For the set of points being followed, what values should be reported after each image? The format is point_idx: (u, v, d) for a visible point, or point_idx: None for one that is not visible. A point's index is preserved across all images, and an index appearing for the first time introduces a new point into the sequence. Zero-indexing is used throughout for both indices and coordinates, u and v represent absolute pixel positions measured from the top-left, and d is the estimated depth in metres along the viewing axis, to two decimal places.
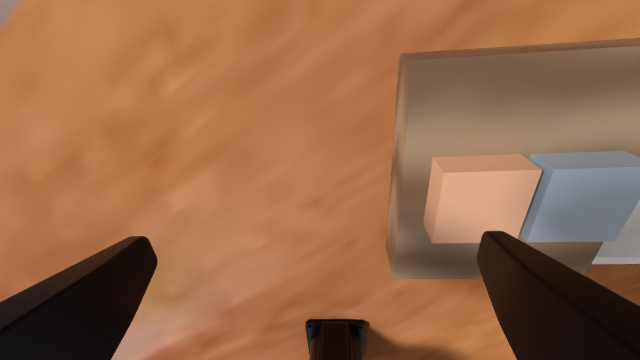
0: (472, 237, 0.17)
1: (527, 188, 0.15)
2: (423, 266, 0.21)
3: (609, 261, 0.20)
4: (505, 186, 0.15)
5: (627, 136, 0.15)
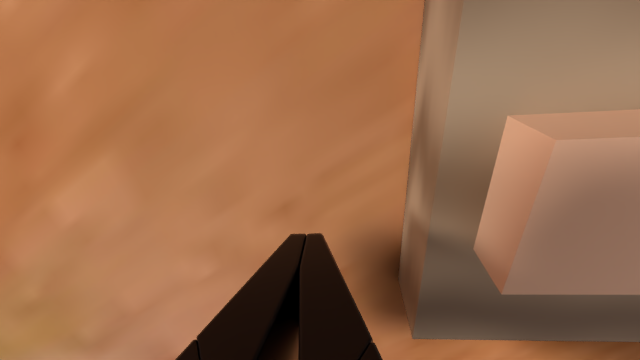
0: (589, 284, 0.08)
1: None
2: (467, 320, 0.12)
3: None
4: None
5: None
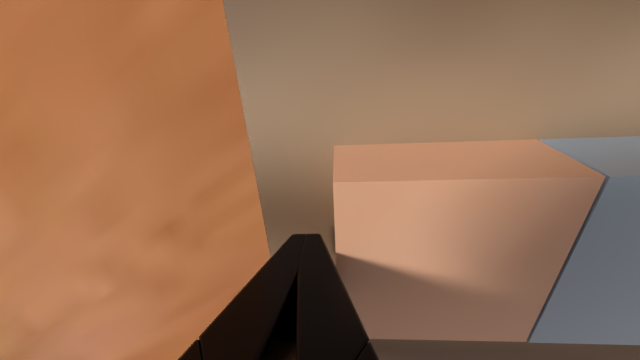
0: (426, 330, 0.07)
1: (557, 225, 0.06)
2: None
3: None
4: (499, 221, 0.06)
5: None
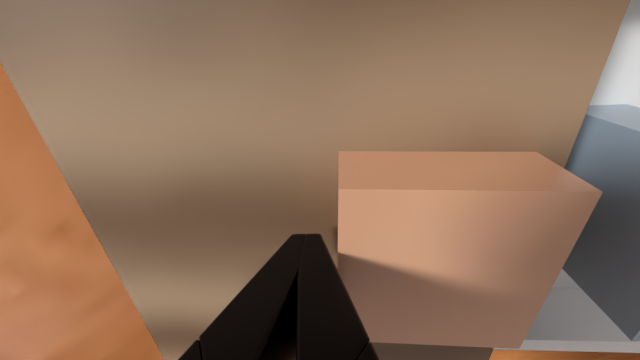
0: (423, 335, 0.08)
1: (555, 237, 0.06)
2: None
3: (526, 345, 0.11)
4: (499, 231, 0.06)
5: (503, 107, 0.07)
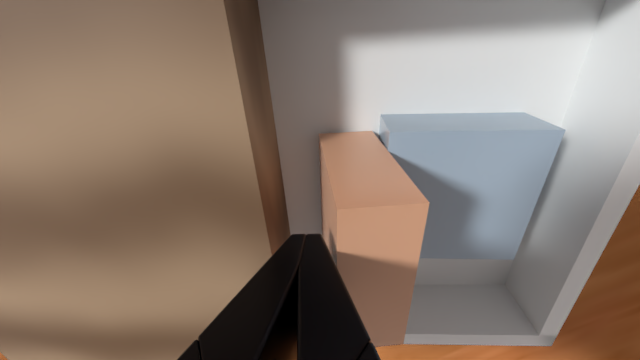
0: None
1: None
2: (36, 344, 0.13)
3: None
4: None
5: (175, 121, 0.07)
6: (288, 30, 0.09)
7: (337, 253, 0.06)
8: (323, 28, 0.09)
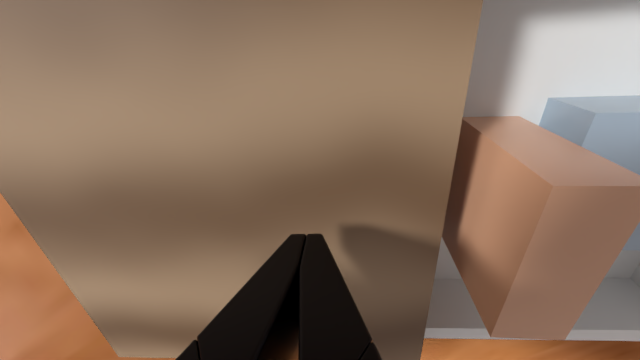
0: None
1: None
2: (152, 340, 0.12)
3: (460, 334, 0.12)
4: None
5: (386, 101, 0.07)
6: None
7: (533, 234, 0.06)
8: (505, 4, 0.08)
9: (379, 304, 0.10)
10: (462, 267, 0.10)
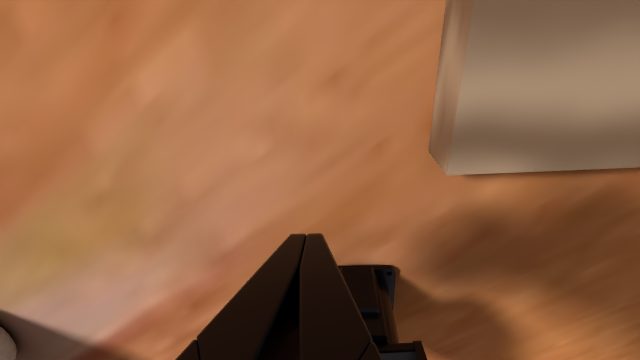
0: None
1: None
2: (493, 150, 0.15)
3: None
4: None
5: None
6: None
7: None
8: None
9: None
10: None
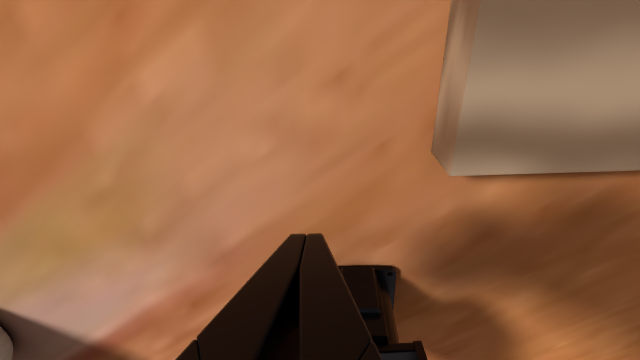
0: None
1: None
2: (496, 152, 0.15)
3: None
4: None
5: None
6: None
7: None
8: None
9: None
10: None
